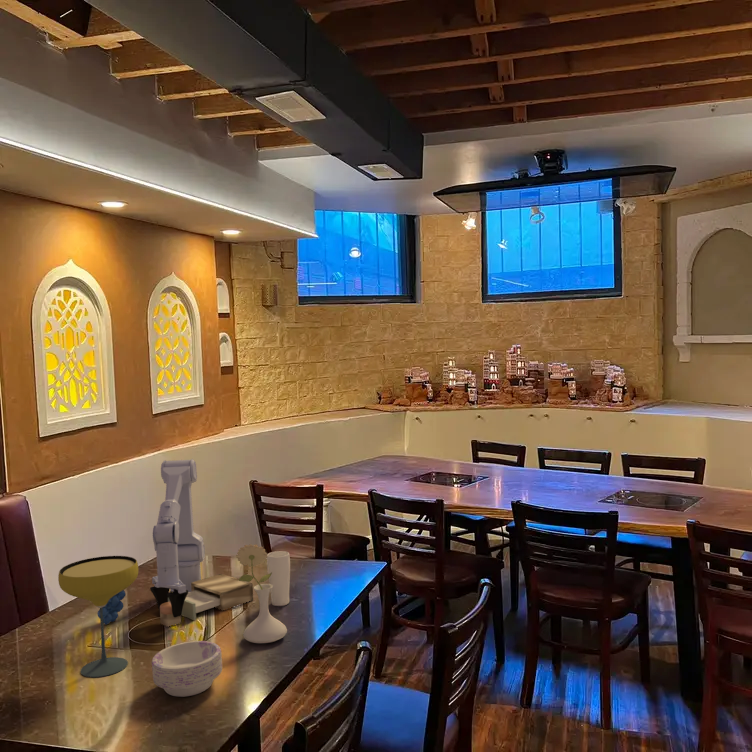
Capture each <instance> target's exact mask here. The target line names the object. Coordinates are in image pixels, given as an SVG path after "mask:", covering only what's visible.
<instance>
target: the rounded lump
mask: <svg viewBox="0 0 752 752" xmlns="http://www.w3.org/2000/svg"><path fill="white" fill-rule="evenodd" d="M160 613H161V614H164V615H169V614H173V613H172V607H171V603H170V602H166V603H163V604H161V605H160V611H159V614H160Z"/></svg>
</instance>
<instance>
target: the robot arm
mask: <svg viewBox="0 0 752 752" xmlns="http://www.w3.org/2000/svg"><path fill="white" fill-rule="evenodd" d="M197 474H198V472H197V463H196V461H195V460H194V459H193V458H191V459H178V460H175V459H174V460H163V461H162V462H161V466H160V477H161V479H162V480H163V483H164V484H165V486H166V487H165V499H164V501H162V503H161V504H160V505H159V511H158V512H159V513H158V518H157V523H156V525H154V526H153V528H152V542H153V546H154V551H155V552H156V569H157V575H156V576H152V577H151V581H152V582H151V583H152V585H154V586H151V587H150V588H149V590H150V591H151V593H152V594H153V596H154V599H155V602H156V605H157V608H158V611H159V612H160V605H161V604H163V603H166V602H168V598H169V600H170V603H171V607H172V613H173V617H178V616H181V617H182V615H181V614H182V609H183V604H184V601H185V598H186V596H187V594H188V592H191V583H192V582H195V581H198V580H202V574H201V572H202V571H201V563H202V562H203V561H204V560H205V557H206V555H205V554H206V547H205V543H204V537H203V536H202V535H200V534H199V533H196V532H195V531H194V530H195V529H194V515H193V500H192V499H193V498H192V485H193V483H197V479H198V475H197Z"/></svg>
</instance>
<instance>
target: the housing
mask: <svg viewBox="0 0 752 752" xmlns="http://www.w3.org/2000/svg"><path fill="white" fill-rule="evenodd" d="M238 580H239V578H237V577H232V576H231V575H230V576H229V575H227V574H223V573H217V574H216V575H211V576H209V577H205V578H201V580H198V581H195V582H192V583H191V591H194V590H197V591H200V592H203V593H206V594H209V595H212V596H215V597H217V598H220V605H219V606H216V607H215V609H217V608H218V609H217V610H220V609H221V610H220V611H223V610H224V611H226V610H229V609H231V608H230V607H232V608H235V607H237V605H238V606H240V605H239V604H241V605H243V603H244V604H247V603H250V602H251V601H254V589H253V587H254V586H253V582H251V581H250V582H246V581H238ZM249 601H250V602H249ZM246 602H247V603H246ZM234 606H235V607H234ZM228 608H229V609H228ZM225 609H226V610H225Z"/></svg>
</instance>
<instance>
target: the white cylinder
mask: <svg viewBox="0 0 752 752" xmlns="http://www.w3.org/2000/svg"><path fill="white" fill-rule="evenodd" d="M267 556H268V557H267V558H266V569H267V574H270V573H271V572H272V574H271V576H270V577H269V578H268V584H271V585H272V586H273V587H272V589H271V590H270V600H271V605H272V606H274V607H284V606H286V605H288V604H289V603H290V581H291V558H290V552H288V551H285V550H280V551H279V550H276V551H272V552H269V553H267Z"/></svg>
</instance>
